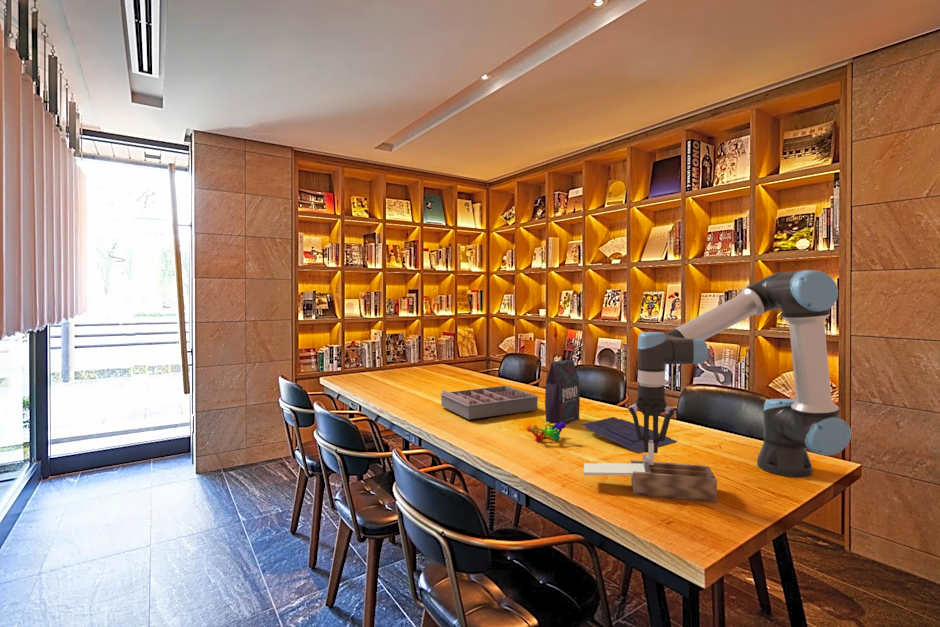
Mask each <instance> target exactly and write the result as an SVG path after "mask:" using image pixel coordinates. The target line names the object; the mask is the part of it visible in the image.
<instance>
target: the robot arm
mask: <svg viewBox="0 0 940 627" xmlns="http://www.w3.org/2000/svg"><path fill="white" fill-rule="evenodd" d="M838 297H839V288H838V286H837V283H836V281H835V279H834V278H833V277H831V276H830V275H828V274H827V272H824V271H821V270H815V269H814V270H813V269H812V270H811V269H804V270H794V271H780V272H775V273H773V274H770V275H768V276H766V277H764V278H761V279H759V280H757V281H756V282H754V283H752V284H751V285H749V286H746V287H745V288H743V289H742V290H741V292H740V294H738V295H736V296H735V297H733V298H730V299H729V300H727V301H724V302H723V303H722V304H721V303H720V305H717V306H715V307H713V308H711V309H710V310H708V311H706V312H704V313H702V314H699V315H698V316H697V317H694V318H693V319H691V320H689V321H686V322H685V323H683V324H681V325H680V326H677V327H676V328H674V329H671V330H669V331H667V332H665V333H664V332H661V331H641V332H640V333H639V335H638V339H637V347H636V348H637V383H638V384H637V399H636V401H635V403H634V404H633V405H628V411H629V412H630V414H631V415H632V418H633V419H632V421H633V423H634V424H635V428H636V432H637V436H638V439H639V440H643V441H644V451H643V452H644V453H647V458H648V461H649V465H654V462H655V461H654V460H655V455H654V454H658V452H659V446H658V442H660V441H664V440H665V437H666V436H667V433H668V428H669V424H670V422H671V419H672V416H673V415H674V414H675V410H674V408H672V407H670V406H668V405H667V402H666V395H665V394H666V386H665V384H666V365H693V366H694V365H700V364H704V363H706V362H707V359H708V357H709V355H708V354H709V347H708V344H707V343H706V341H705V340H708V339H709V338H711V337H713V336H715V335H717V334H719V333H721V332H723V331H725V330H727V329H728V328H730V327H732V326H735V325H737V324H738V323H740V322H742V321H744V320H746V319H748V318H750V317H752V316H754V315H756V316H761V315H763V314H765V313H767V312H770V311H775V310H781V318H782V319H783V320H785V321H786V322H787V323H788V327H789V336H790V337H789V338H790V349H791V350H790V351H791V358H792V370H793V380H794V389H795V390H794V391H795V398H770V399H769V398H768V399H766V400H765V402H764V404H763V444H762V446H761V449H760V451H759V452H758V455H757V460H756V461H757V463H756V465H757V467H758V468H759V469H762V470H763V471H765V472H768V473H770V474H774V475H778V476H783V477H788V478H789V477H790V478H805V477H806V478H807V477H810V476H812V475H813V465H812V462H811V459H810V456H809V453H808V451H807V450H809V451H810V452H812V453H816V454H819V455H823V456H834V455H837V454H839V453H841V452H842V451H843V450H844V449H845V448H846V447H848V445H849V443H850V442H851V438H852V429H851V427H850V425H849V423H847V422H846V421H845V420H844V419H842V418H841V417H840V408H839V406H838V405H837V404H836V403H835V402H833V400H832V391H831V381H830V369H829V360H828V359H829V358H828V350H827V337H826V336H827V335H826V327H825V326H826V325H825V320H826V319H828V317H829V316H830V315H831V311H830V310H831V308H832V307H833V306H834V305H835V302H837V301H838ZM638 410H639V411H640V412H641V414H642V415H643V427H644V435H642V434H641V430H640V426H641V425H640V423H639V419H638V415H637V413H638ZM663 412H664V413H665V414H664V418H663V421H662V422H663V423H662V425H661V428H660V432H659V416H660V415H661V414H662V413H663ZM650 417H652V430H653V441H652V440H649V428H650ZM639 425H640V426H639ZM658 433H660V436H658Z"/></svg>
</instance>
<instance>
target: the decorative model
mask: <svg viewBox="0 0 940 627" xmlns="http://www.w3.org/2000/svg"><path fill="white" fill-rule="evenodd" d="M543 425H544V428H541V427H538V426H537V424H535V423H534V424H532V425H531V424H530V425H528V426H527V427H526V430H527V432H529V433H532V435H533V436H534V437H535V441H536V442H537V443H541V442H542V441H543V438H546V437H548V438H551V439H553V440H554V441H555V442H558V441H560V440H561V436H560V435H561V432H562V430H563V429H565V428H566V427H567V424H565V422H560V423H559V424H558V423H555V424H551V423H550V422H546V421H545V423H544V424H543Z"/></svg>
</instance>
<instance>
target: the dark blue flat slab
mask: <svg viewBox="0 0 940 627" xmlns="http://www.w3.org/2000/svg"><path fill="white" fill-rule="evenodd" d="M580 425H581V426H583V427H584V428H585V429H587V430H589V431H590V432H592V433H594V434H595V435H598V436H601V437H603V438H606V439H608V440H610V441H612V442H614V443H616V444H619V445H620V446H622V447H625V448H626V449H628V450H631V451H632V452H635V453H638V454H640V453H642V452H645V451H644V441H643V440H639V439H638V436H637V432H636V428H635V424H634V422H632V421H629V420H625V419H623V418H618V417H615V416H612V417H607V418H603V419H599V420H595V421H590V422H586V423H582V424H580ZM639 426H640V430H641V434H642V435H644V425H640V424H639ZM658 436H660V432H658ZM649 440H652V441H653V429H649ZM676 442H678V441H677V440H676V439H673V438H671V437H669V436H667V435H666V437H665V440H664V441H660V442H658V447H662V446H666V445H668V444H673V443H676Z"/></svg>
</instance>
